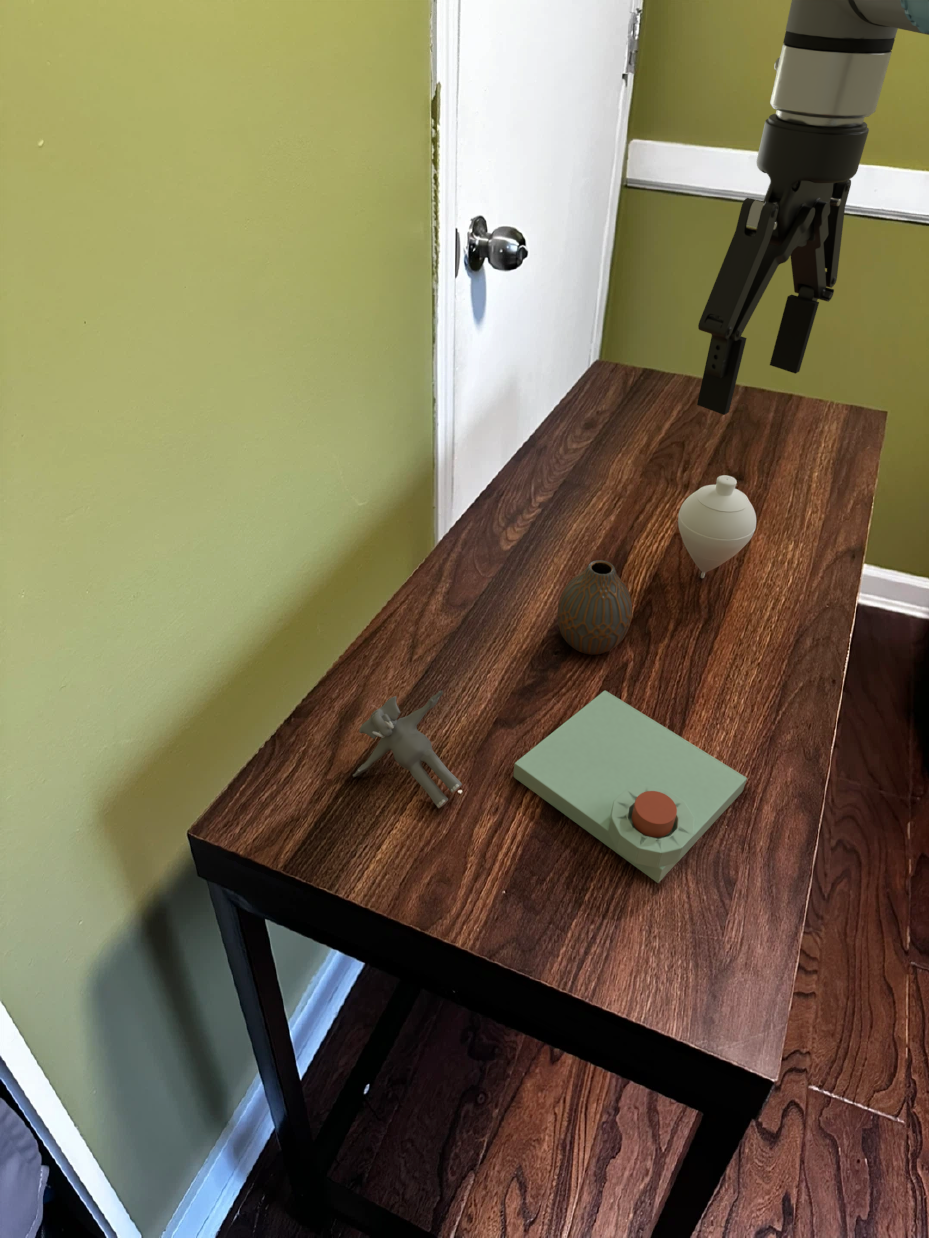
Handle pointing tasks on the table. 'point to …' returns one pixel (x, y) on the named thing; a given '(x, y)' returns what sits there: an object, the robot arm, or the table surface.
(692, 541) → the spinning top
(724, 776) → the green push button box
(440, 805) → the elephant figurine
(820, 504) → the table surface
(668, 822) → the button
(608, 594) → the vase
